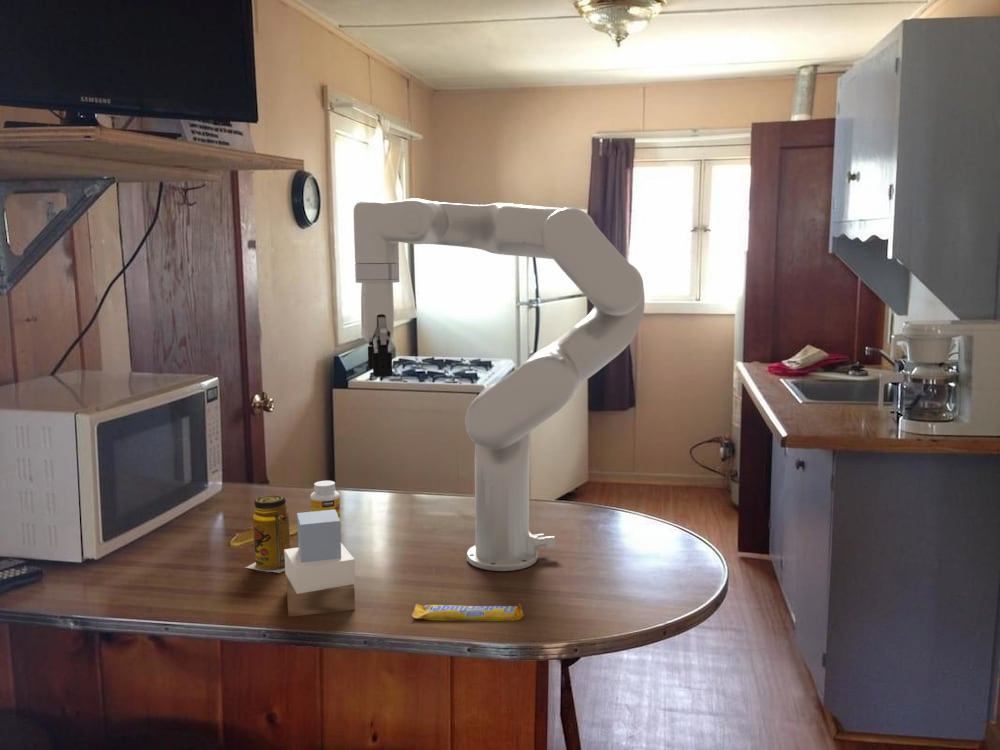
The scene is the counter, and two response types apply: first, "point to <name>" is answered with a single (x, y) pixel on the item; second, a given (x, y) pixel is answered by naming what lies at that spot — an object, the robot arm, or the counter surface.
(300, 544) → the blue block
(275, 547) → the condiment
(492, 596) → the counter surface
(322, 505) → the supplement bottle
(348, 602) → the tower base block
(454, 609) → the candy bar
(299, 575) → the tower top block
